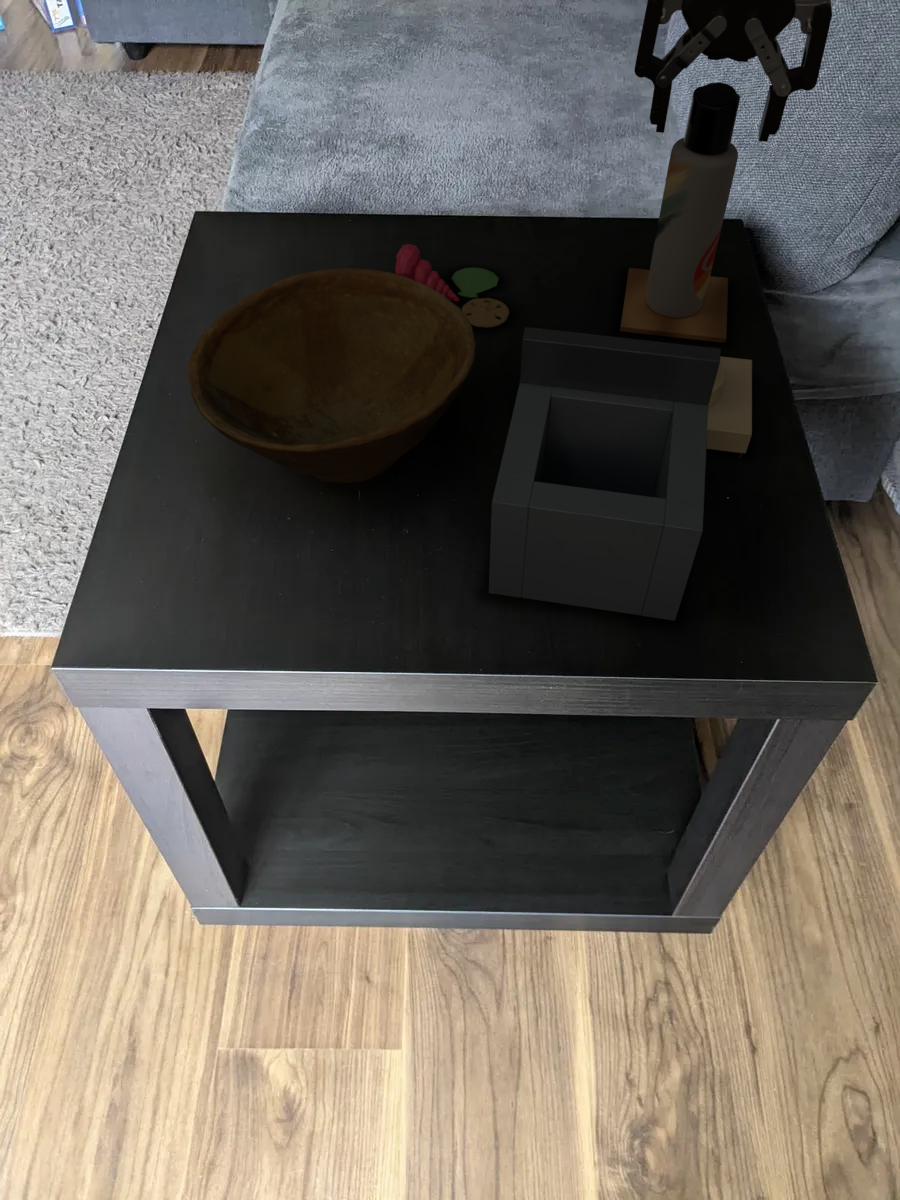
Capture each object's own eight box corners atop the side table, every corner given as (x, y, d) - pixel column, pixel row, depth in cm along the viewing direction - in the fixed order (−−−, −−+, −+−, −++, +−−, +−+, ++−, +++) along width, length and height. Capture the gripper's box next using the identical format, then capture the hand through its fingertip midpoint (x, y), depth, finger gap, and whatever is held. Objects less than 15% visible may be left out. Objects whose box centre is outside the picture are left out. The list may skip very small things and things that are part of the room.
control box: (746, 379, 85) (757, 343, 82) (745, 453, 79) (757, 418, 76) (615, 364, 87) (620, 328, 84) (604, 436, 81) (610, 400, 78)
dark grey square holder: (683, 487, 77) (721, 348, 66) (675, 621, 69) (716, 487, 58) (516, 465, 79) (525, 326, 68) (488, 593, 71) (493, 458, 59)
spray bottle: (712, 296, 92) (763, 84, 76) (688, 326, 89) (737, 113, 74) (659, 278, 94) (699, 68, 78) (634, 307, 91) (670, 95, 75)
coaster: (726, 282, 95) (728, 277, 94) (725, 343, 89) (726, 338, 88) (628, 272, 96) (629, 267, 95) (619, 331, 90) (620, 326, 89)
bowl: (191, 396, 85) (163, 301, 77) (427, 340, 89) (424, 245, 82) (244, 570, 72) (217, 478, 64) (516, 494, 77) (522, 399, 69)
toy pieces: (382, 330, 90) (379, 290, 87) (401, 264, 97) (399, 225, 94) (505, 339, 89) (507, 299, 86) (516, 272, 96) (518, 233, 93)
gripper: (655, -86, 65) (623, 147, 77) (868, -74, 63) (799, 162, 76) (661, -120, 69) (630, 105, 82) (860, -110, 67) (796, 119, 80)
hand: (711, 132), depth 79 cm, fingers open, 8 cm apart
